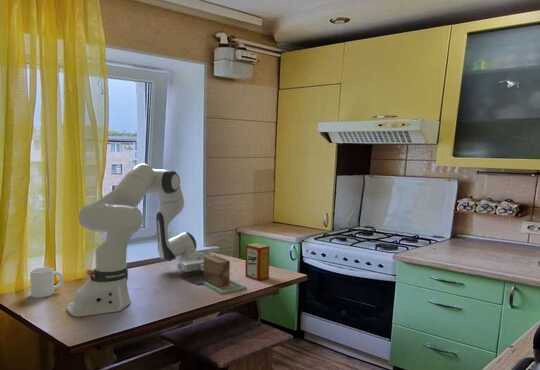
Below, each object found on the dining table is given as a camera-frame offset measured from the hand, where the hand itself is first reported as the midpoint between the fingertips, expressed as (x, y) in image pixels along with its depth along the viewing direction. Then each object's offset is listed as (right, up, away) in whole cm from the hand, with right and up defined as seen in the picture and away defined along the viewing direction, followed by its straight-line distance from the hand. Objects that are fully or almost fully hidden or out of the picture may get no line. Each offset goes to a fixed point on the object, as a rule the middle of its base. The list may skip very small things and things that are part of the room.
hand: (209, 267), depth 195 cm
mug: (-63, -6, -24) cm, 68 cm away
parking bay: (+8, -6, -10) cm, 15 cm away
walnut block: (+4, -6, -5) cm, 8 cm away
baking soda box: (+22, -6, +4) cm, 23 cm away
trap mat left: (-5, -6, -4) cm, 8 cm away
